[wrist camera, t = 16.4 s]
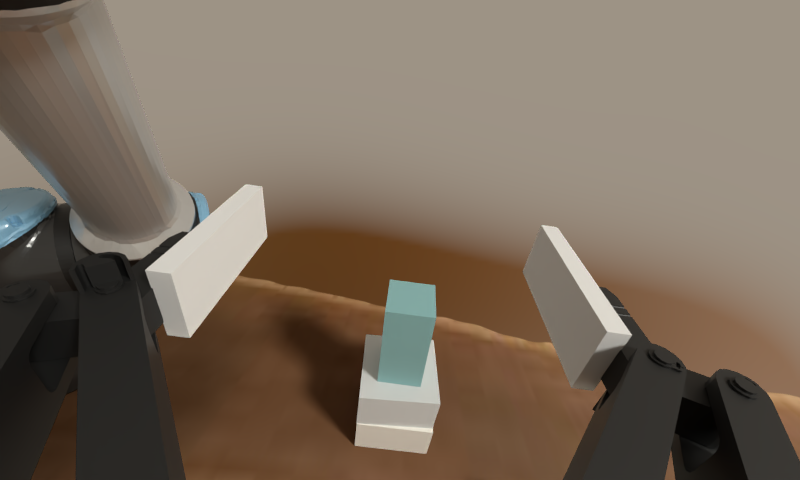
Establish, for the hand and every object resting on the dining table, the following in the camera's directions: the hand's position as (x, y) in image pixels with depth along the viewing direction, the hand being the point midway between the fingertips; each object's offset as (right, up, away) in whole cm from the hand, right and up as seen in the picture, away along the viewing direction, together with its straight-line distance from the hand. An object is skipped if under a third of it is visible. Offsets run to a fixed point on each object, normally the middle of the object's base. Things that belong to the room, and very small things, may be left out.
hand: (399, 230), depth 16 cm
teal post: (0, -16, +25) cm, 29 cm away
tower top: (-1, -20, +27) cm, 34 cm away
